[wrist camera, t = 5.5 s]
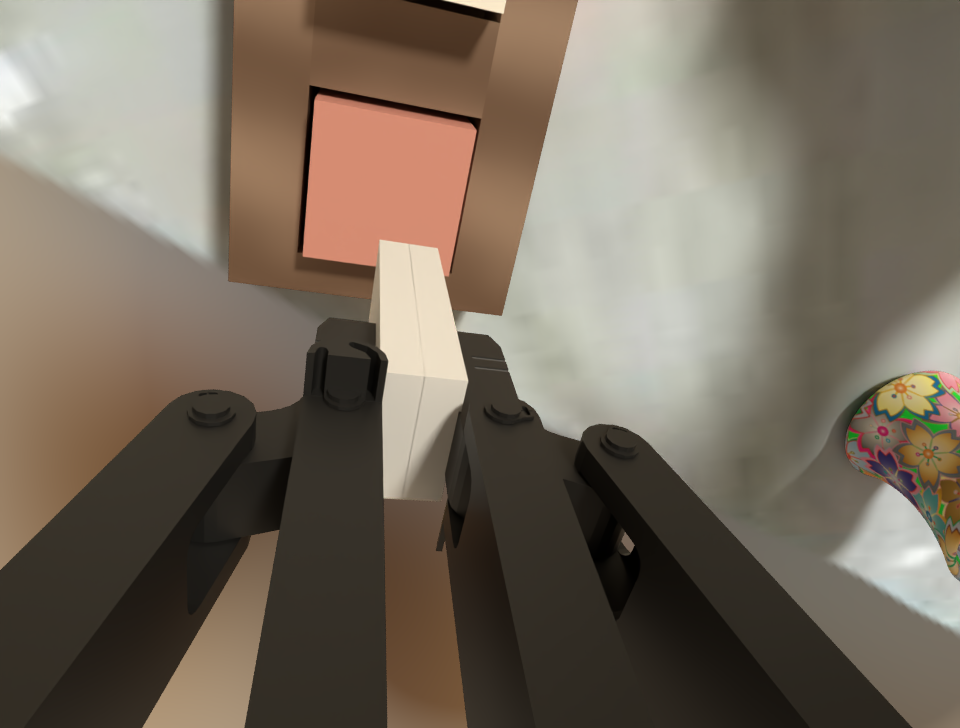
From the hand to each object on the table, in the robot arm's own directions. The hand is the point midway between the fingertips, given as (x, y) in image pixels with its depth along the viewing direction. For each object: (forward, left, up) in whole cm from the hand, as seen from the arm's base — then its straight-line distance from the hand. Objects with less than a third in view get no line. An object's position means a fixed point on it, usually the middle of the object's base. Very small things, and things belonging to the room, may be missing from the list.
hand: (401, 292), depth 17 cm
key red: (0, 0, -14) cm, 14 cm away
